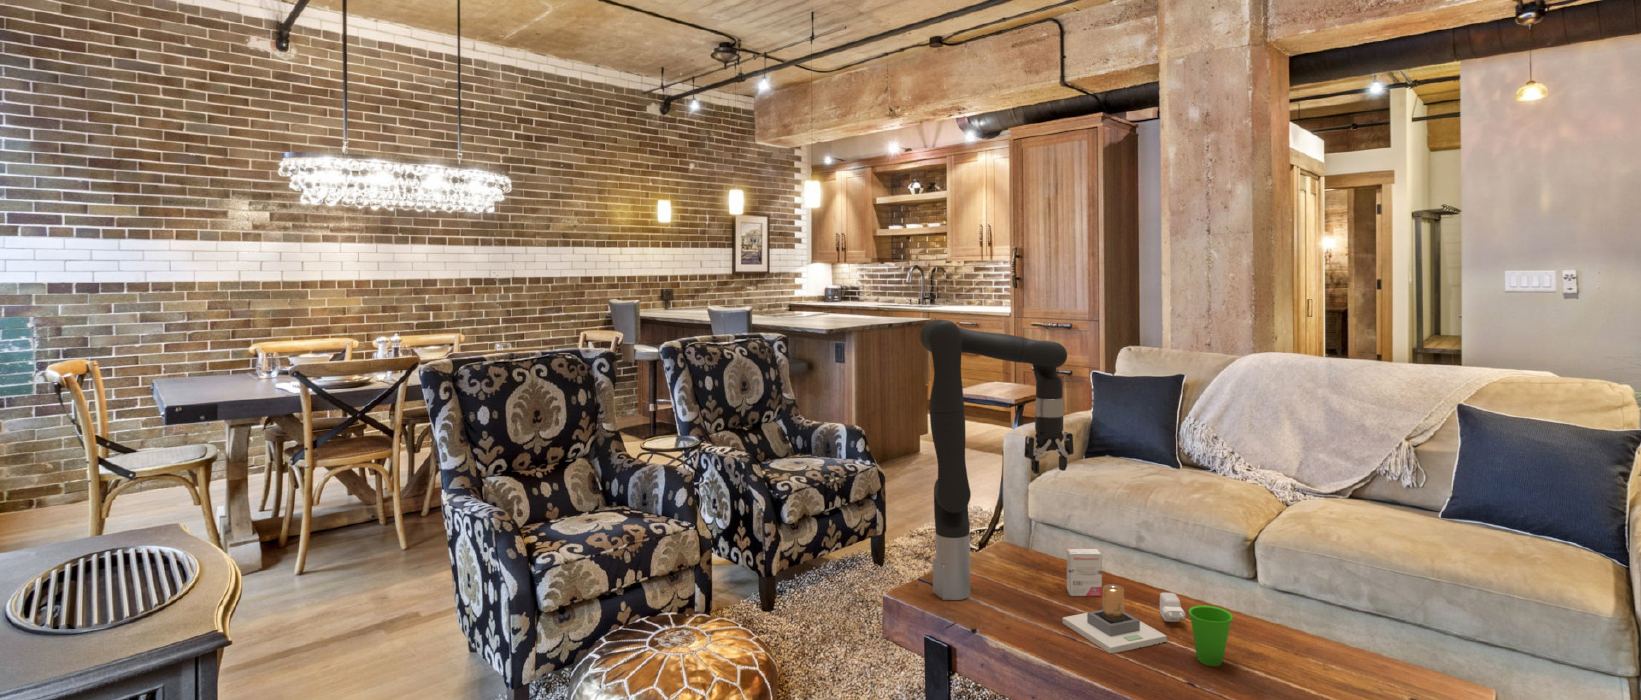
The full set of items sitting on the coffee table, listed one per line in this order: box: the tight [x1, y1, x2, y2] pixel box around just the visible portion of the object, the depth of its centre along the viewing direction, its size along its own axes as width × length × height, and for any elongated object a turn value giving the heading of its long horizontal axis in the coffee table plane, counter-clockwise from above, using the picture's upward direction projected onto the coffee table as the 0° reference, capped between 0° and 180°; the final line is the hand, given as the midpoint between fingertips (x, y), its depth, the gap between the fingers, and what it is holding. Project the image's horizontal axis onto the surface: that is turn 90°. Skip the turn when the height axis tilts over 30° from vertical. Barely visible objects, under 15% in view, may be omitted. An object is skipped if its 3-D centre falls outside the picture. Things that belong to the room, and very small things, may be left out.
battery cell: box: [1102, 583, 1125, 624], centre depth 200 cm, size 5×5×10 cm
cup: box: [1188, 604, 1234, 667], centre depth 184 cm, size 9×9×11 cm
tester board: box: [1062, 609, 1168, 654], centre depth 200 cm, size 16×18×4 cm
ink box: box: [1066, 548, 1103, 597], centre depth 224 cm, size 9×5×12 cm, turn 84°
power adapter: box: [1159, 592, 1187, 623], centre depth 205 cm, size 11×5×6 cm, turn 171°
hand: (1049, 471), depth 229 cm, fingers open, 8 cm apart
